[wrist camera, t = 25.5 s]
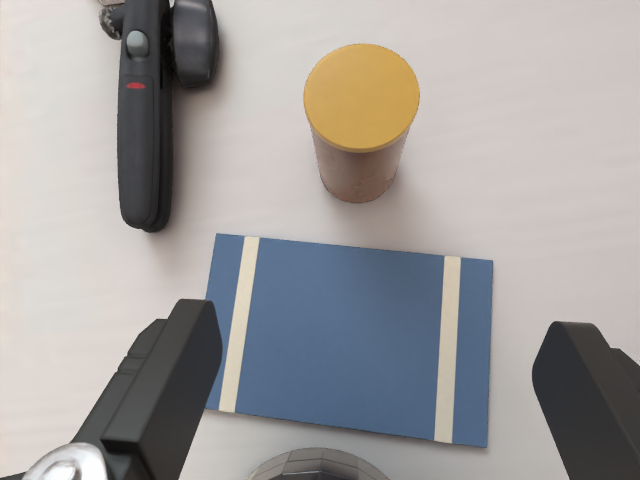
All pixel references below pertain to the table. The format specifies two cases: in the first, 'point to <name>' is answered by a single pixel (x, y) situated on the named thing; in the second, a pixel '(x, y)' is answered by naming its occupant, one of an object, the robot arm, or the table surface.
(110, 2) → the flask
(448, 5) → the table surface
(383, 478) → the pan
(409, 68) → the chocolate tin
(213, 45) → the can opener
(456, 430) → the tea towel
